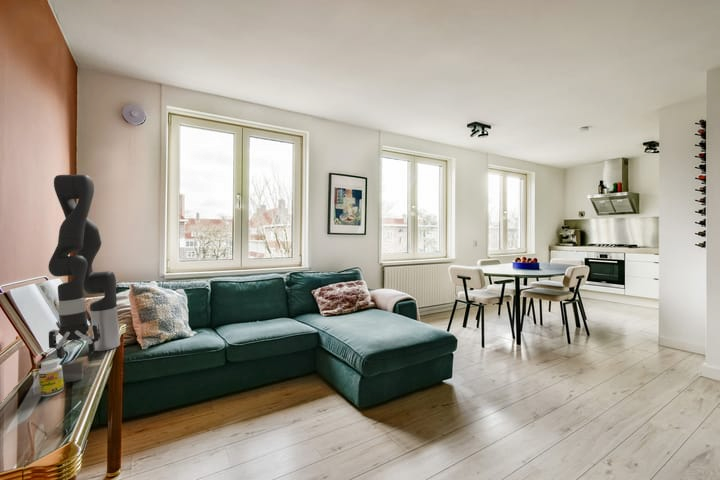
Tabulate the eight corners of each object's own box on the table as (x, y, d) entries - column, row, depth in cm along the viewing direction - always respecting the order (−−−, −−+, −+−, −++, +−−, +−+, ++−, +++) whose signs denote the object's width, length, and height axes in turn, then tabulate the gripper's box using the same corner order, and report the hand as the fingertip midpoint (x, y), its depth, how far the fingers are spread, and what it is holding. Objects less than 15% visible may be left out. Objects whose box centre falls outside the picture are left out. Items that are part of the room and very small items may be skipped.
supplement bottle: (36, 398, 105) (32, 366, 104) (48, 390, 110) (45, 359, 109) (57, 395, 106) (54, 363, 105) (68, 387, 111) (65, 357, 111)
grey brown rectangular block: (72, 368, 126) (71, 353, 126) (95, 365, 129) (94, 349, 129) (57, 384, 114) (55, 366, 114) (82, 379, 117) (80, 362, 116)
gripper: (100, 306, 128) (103, 348, 128) (52, 312, 122) (56, 356, 123) (93, 310, 121) (97, 355, 121) (42, 316, 115) (46, 363, 116)
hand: (76, 355), depth 122 cm, fingers open, 8 cm apart
